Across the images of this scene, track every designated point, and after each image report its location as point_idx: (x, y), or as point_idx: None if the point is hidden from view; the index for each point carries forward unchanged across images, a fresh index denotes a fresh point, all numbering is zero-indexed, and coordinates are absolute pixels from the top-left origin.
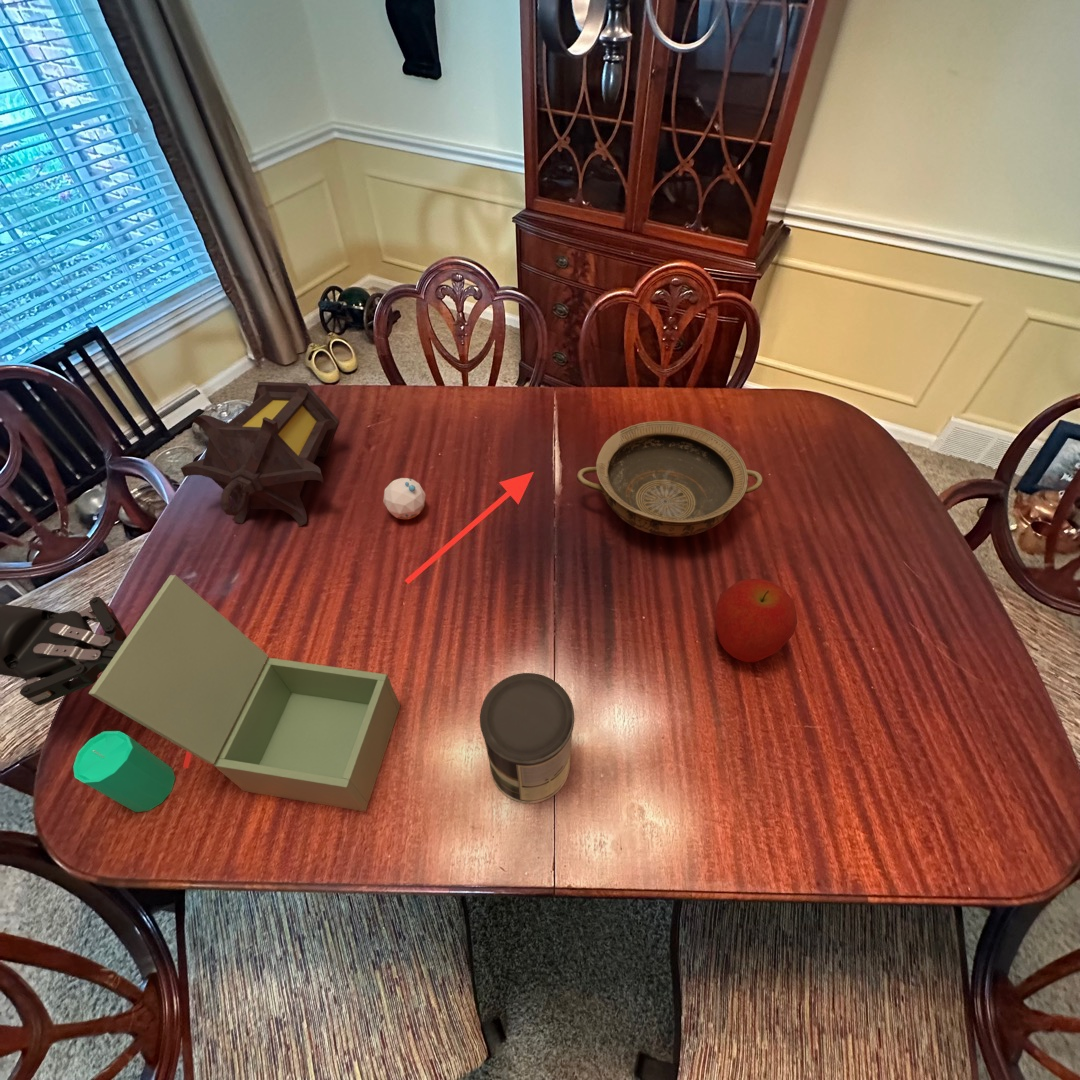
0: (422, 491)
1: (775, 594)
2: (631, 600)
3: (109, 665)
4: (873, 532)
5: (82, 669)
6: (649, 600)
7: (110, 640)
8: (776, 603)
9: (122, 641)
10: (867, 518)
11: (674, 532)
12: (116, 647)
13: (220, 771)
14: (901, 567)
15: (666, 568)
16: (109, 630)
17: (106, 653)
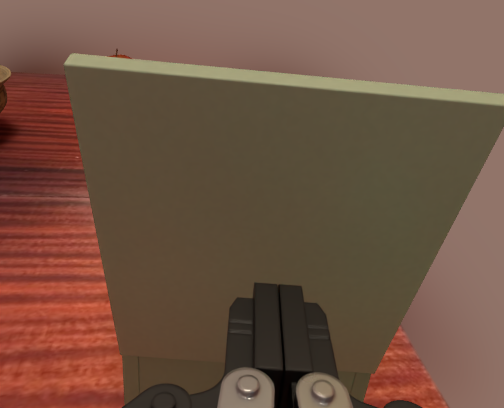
0: None
1: (115, 56)
2: (53, 160)
3: (420, 91)
4: (30, 86)
5: (402, 402)
6: (57, 153)
7: (239, 368)
8: (125, 56)
9: (228, 350)
10: (15, 85)
11: (2, 102)
12: (266, 338)
13: (364, 395)
14: (67, 86)
15: (21, 144)
16: (186, 394)
17: (301, 356)
